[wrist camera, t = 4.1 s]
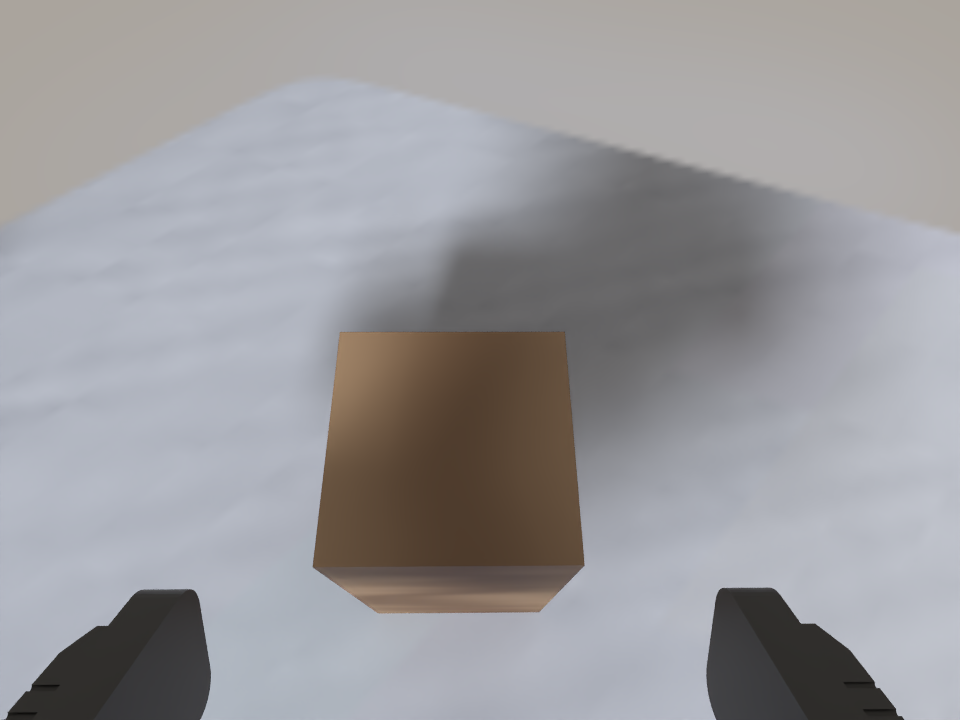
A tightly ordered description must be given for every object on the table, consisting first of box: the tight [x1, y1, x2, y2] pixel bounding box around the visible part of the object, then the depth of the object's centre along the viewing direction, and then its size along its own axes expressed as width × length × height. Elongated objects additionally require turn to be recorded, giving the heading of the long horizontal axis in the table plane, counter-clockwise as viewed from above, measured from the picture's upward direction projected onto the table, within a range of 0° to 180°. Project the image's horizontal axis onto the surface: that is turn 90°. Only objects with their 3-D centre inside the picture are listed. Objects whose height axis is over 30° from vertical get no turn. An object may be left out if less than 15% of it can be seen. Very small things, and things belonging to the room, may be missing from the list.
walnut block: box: [313, 332, 584, 613], centre depth 15 cm, size 5×5×8 cm
